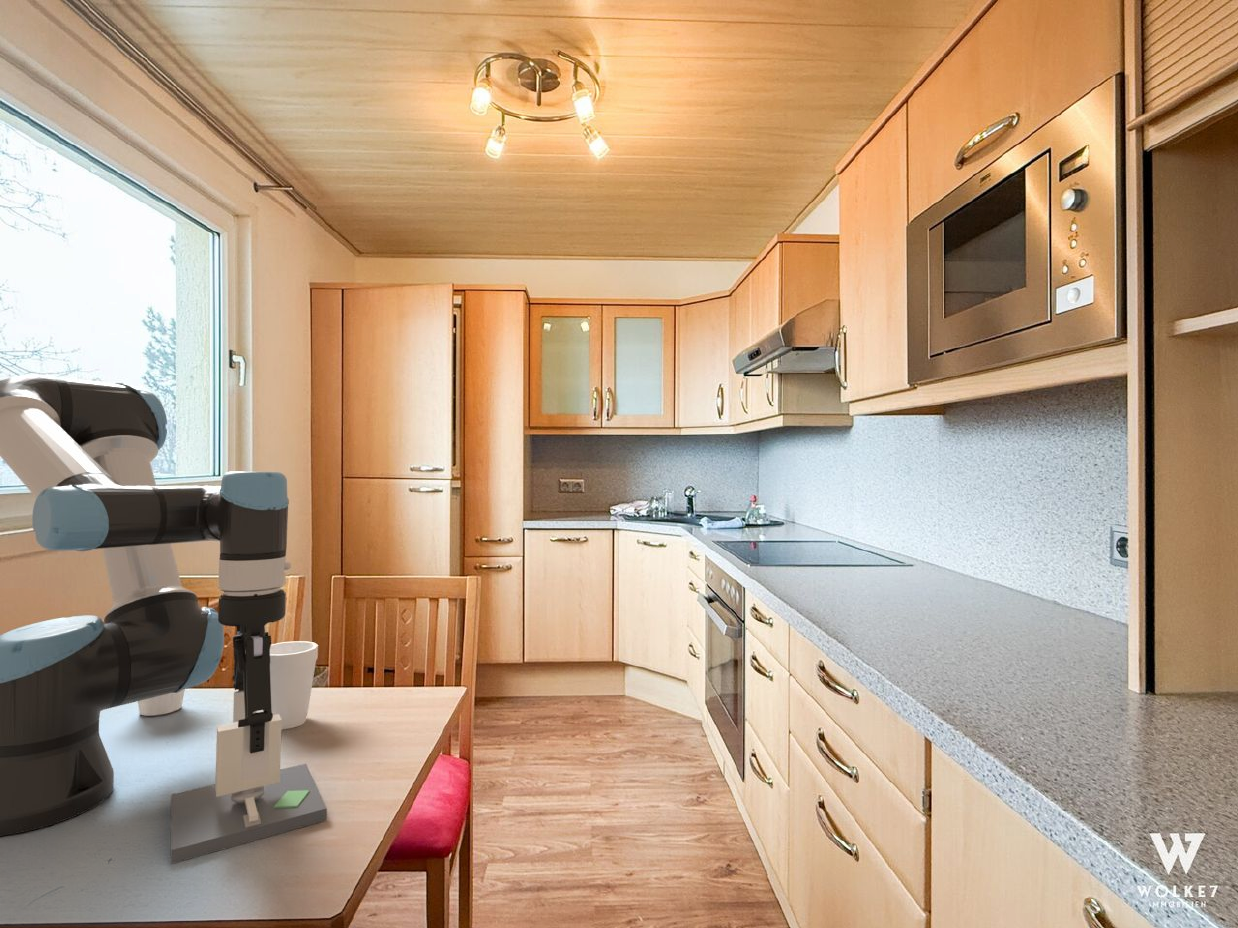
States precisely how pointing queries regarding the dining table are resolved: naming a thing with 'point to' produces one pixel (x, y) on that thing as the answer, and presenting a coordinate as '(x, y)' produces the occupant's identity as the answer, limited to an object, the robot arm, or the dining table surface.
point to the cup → (161, 704)
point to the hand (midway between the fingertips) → (249, 756)
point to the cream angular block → (231, 765)
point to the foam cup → (292, 680)
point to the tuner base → (242, 814)
